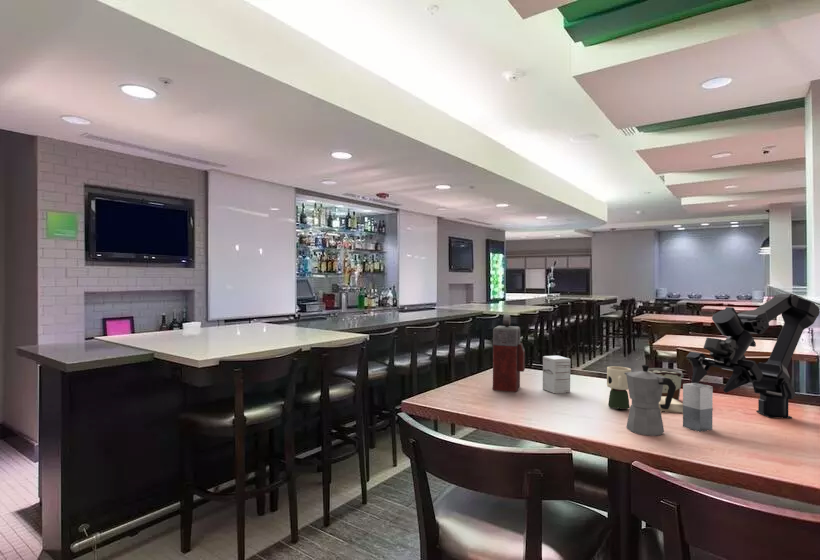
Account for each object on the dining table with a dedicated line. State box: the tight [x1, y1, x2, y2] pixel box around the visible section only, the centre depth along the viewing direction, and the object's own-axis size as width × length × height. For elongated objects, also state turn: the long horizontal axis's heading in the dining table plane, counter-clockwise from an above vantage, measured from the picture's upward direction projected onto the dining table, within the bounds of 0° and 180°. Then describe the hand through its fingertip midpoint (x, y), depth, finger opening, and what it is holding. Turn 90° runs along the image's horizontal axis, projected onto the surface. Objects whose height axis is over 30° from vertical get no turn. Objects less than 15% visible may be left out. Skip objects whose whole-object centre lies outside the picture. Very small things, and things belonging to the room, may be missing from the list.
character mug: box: [606, 365, 632, 411], centre depth 147 cm, size 11×7×13 cm, turn 159°
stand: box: [659, 396, 683, 413], centre depth 149 cm, size 10×10×2 cm
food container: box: [648, 367, 685, 401], centre depth 162 cm, size 12×6×10 cm, turn 84°
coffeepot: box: [625, 364, 676, 437], centre depth 124 cm, size 15×9×18 cm, turn 24°
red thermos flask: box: [492, 314, 526, 393], centre depth 173 cm, size 9×11×28 cm
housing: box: [682, 382, 714, 433], centre depth 128 cm, size 5×5×12 cm
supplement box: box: [542, 355, 572, 394], centre depth 171 cm, size 7×7×13 cm
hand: (708, 387), depth 129 cm, fingers open, 9 cm apart
